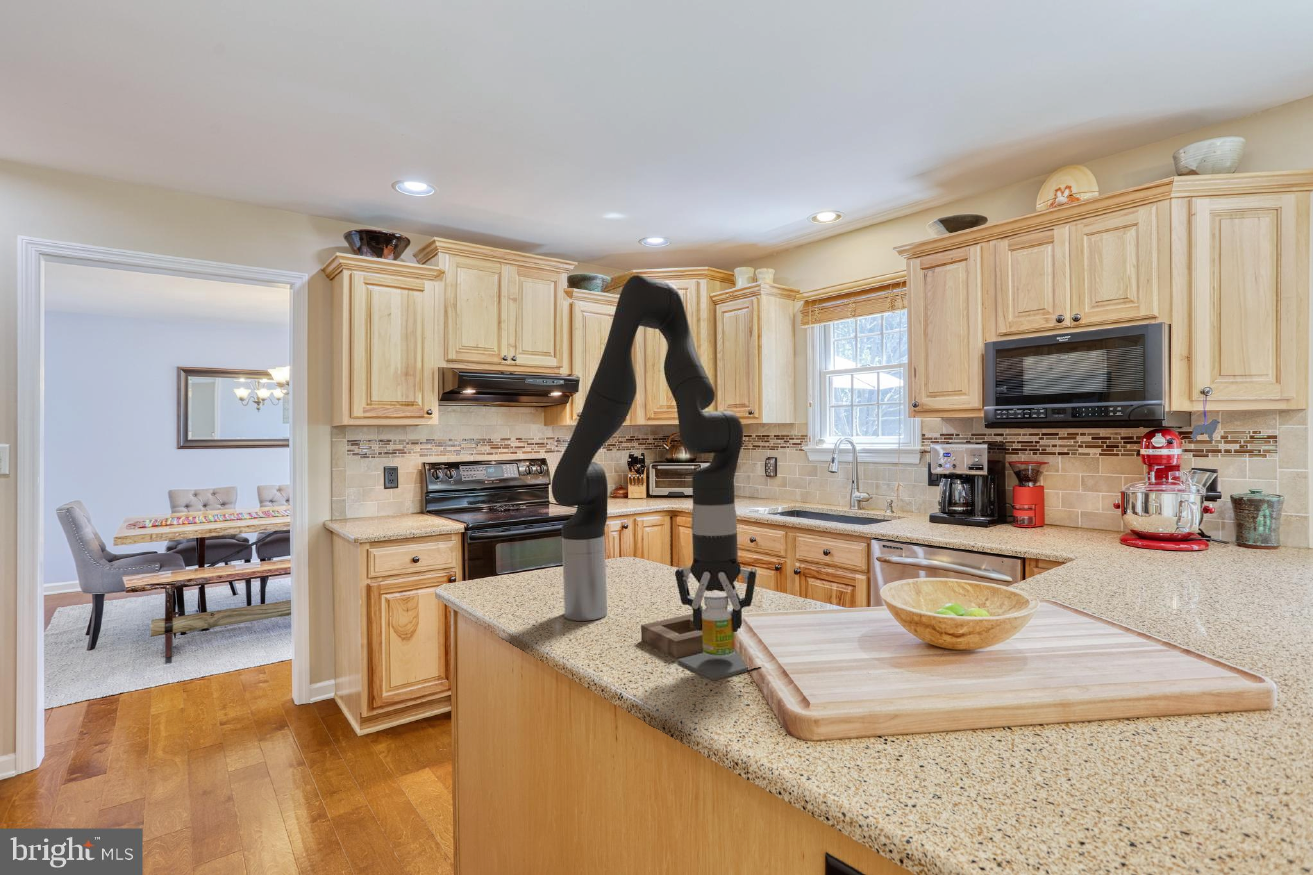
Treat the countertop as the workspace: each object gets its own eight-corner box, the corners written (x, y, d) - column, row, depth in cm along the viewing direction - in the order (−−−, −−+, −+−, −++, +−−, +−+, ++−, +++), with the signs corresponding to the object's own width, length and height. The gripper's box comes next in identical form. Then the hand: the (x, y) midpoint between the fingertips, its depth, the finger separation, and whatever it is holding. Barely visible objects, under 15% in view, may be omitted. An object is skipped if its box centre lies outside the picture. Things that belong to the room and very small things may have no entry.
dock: (641, 640, 125) (640, 624, 125) (693, 628, 131) (692, 613, 131) (676, 658, 115) (675, 641, 115) (730, 644, 121) (730, 628, 121)
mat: (678, 662, 112) (677, 659, 112) (724, 650, 118) (724, 647, 118) (713, 681, 104) (713, 677, 104) (761, 666, 109) (761, 663, 109)
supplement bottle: (716, 661, 107) (713, 602, 107) (696, 653, 112) (693, 596, 112) (742, 654, 110) (738, 596, 110) (721, 646, 115) (718, 590, 115)
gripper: (759, 526, 113) (762, 625, 113) (677, 526, 116) (680, 621, 116) (755, 534, 105) (758, 639, 106) (668, 533, 109) (671, 635, 109)
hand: (717, 629), depth 111 cm, fingers closed on supplement bottle, 5 cm apart
